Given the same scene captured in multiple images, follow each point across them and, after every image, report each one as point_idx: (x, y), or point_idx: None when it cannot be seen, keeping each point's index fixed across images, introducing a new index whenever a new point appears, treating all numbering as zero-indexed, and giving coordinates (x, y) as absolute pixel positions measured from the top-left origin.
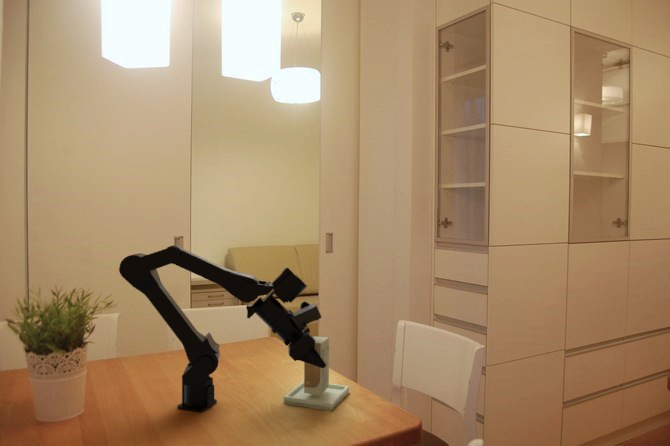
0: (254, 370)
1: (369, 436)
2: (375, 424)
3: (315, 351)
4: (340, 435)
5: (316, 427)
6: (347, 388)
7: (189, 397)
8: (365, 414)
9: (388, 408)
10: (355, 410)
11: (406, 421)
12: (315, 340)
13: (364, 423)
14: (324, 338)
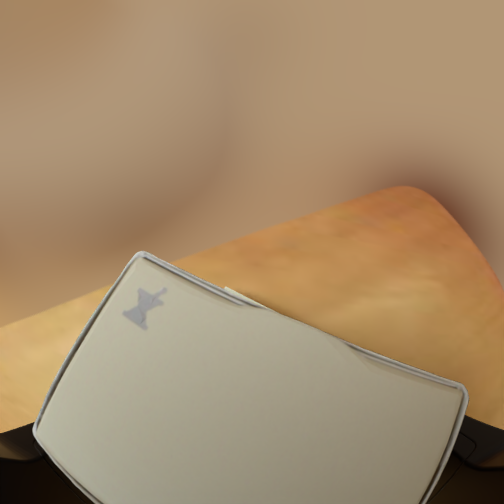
0: None
1: (493, 282)
2: (449, 261)
3: (491, 433)
4: (499, 341)
5: (474, 403)
6: (241, 295)
7: None
8: (404, 274)
9: (361, 214)
10: (380, 297)
11: (422, 200)
12: (304, 488)
13: (449, 284)
14: (187, 319)
